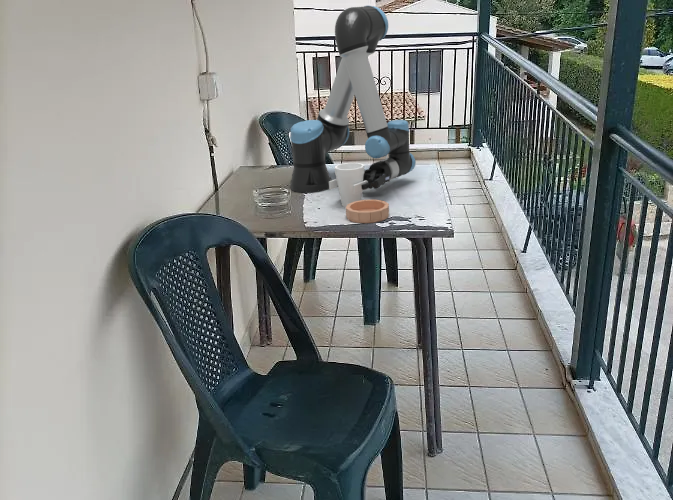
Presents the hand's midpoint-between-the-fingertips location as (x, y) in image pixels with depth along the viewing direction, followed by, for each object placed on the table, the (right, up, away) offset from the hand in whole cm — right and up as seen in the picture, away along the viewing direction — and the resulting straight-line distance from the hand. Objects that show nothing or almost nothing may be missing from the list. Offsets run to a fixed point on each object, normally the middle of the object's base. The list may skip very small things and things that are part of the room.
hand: (341, 187), depth 204 cm
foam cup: (+3, -5, +6) cm, 8 cm away
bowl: (+8, -10, -7) cm, 14 cm away
